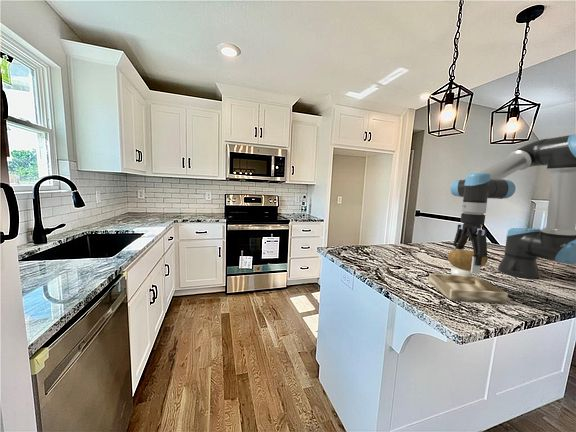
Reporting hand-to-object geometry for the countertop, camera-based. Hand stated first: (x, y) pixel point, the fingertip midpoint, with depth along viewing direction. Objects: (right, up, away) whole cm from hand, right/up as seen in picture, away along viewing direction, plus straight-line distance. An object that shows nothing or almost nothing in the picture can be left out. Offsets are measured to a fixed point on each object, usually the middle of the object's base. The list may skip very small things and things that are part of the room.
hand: (466, 268), depth 98 cm
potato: (0, -1, 0) cm, 1 cm away
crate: (0, -10, +1) cm, 10 cm away
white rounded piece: (+9, -8, +16) cm, 20 cm away
